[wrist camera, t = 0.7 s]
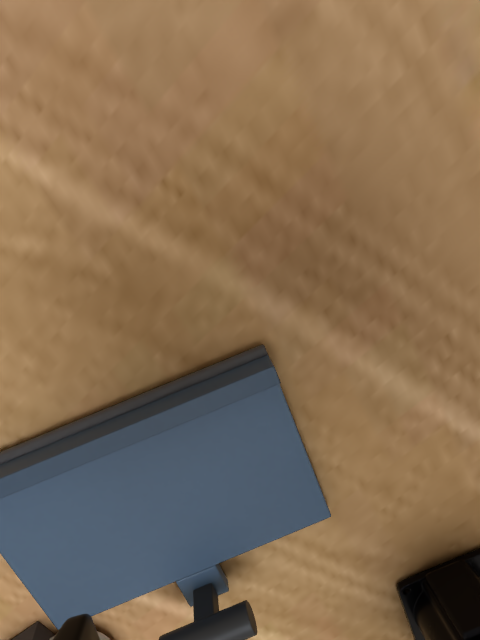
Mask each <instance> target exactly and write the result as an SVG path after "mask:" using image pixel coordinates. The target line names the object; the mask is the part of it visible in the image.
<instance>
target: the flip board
mask: <svg viewBox="0 0 480 640" xmlns="http://www.w3.org/2000/svg"><path fill="white" fill-rule="evenodd" d="M329 517H331V514H330V511H329V509H328V506H327V504H326V501H325V498H324V496H323V493H322V491H321V488H320V486H319V483H318V481H317V478H316V476H315V473H314V470H313V468H312V465H311V463H310V460H309V458H308V455H307V453H306V450H305V448H304V445H303V442H302V440H301V437H300V435H299V432H298V430H297V427H296V425H295V422H294V420H293V417H292V414H291V412H290V409H289V407H288V404H287V402H286V399H285V397H284V394H283V392H282V389H281V387H280V380H279V378H278V375H277V372H276V370H275V367H274V365H273V363H272V361H271V359H270V358H269V356H268V353H267V351H266V349H265V346H264V345H263V344H262V345H260V346H257V347H255V348H252V349H250V350H247V351H245V352H243V353H240V354H238V355H235V356H233V357H230V358H228V359H226V360H223V361H221V362H218V363H216V364H213V365H211V366H208V367H206V368H204V369H201V370H199V371H196V372H194V373H191V374H189V375H187V376H184V377H182V378H179V379H177V380H174V381H172V382H169V383H167V384H165V385H162V386H160V387H157V388H155V389H152V390H150V391H148V392H145V393H143V394H140V395H138V396H135V397H133V398H130V399H128V400H126V401H123V402H121V403H118V404H116V405H113V406H111V407H109V408H106V409H104V410H101V411H99V412H96V413H94V414H91V415H89V416H87V417H84V418H82V419H79V420H77V421H74V422H72V423H69V424H67V425H65V426H62V427H60V428H57V429H55V430H52V431H50V432H48V433H45V434H43V435H40V436H38V437H35V438H33V439H30V440H28V441H26V442H23V443H21V444H18V445H16V446H13V447H11V448H9V449H6V450H4V451H1V452H0V554H1V555H2V556H3V557H4V559H5V560H6V561H7V563H8V564H9V565H10V567H11V568H12V569H13V571H14V572H15V573H16V575H17V576H18V577H19V579H20V580H21V581H22V583H23V584H24V585H25V587H26V588H27V589H28V591H29V592H30V593H31V595H32V596H33V597H34V599H35V600H36V601H37V603H38V604H39V605H40V607H41V608H42V609H43V611H44V612H45V613H46V615H47V616H48V617H49V619H50V620H51V621H52V623H53V624H54V625H55V627H56V628H57V629H58V630H60V628H61V627H62V625H63V624H64V622H65V621H66V620H67V619H68V618H70V617H73V616H77V615H81V614H89V615H90V616H93V615H96V614H98V613H101V612H103V611H105V610H108V609H110V608H113V607H115V606H117V605H120V604H122V603H125V602H127V601H129V600H132V599H134V598H137V597H139V596H141V595H144V594H146V593H149V592H151V591H153V590H156V589H158V588H161V587H163V586H165V585H168V584H170V583H173V582H175V581H176V583H177V585H178V587H179V588H180V590H181V592H182V593H183V595H184V597H185V599H186V600H187V602H188V604H189V605H190V606H191V607H192V606H194V622H193V623H190V624H188V625H185V626H183V627H181V628H178V629H176V630H173V631H171V632H169V633H166V634H164V635H162V636H160V638H159V640H245V639H248V638H250V637H253V636H255V635H257V626H256V621H255V617H254V614H253V611H252V608H251V606H250V604H249V602H248V601H247V600H245V601H243V602H241V603H238V604H236V605H233V606H231V607H229V608H226V609H224V610H221V611H219V605H218V595H220V594H223V593H225V592H228V591H229V588H228V580H227V578H226V576H225V574H224V572H223V571H222V569H221V567H220V565H219V563H221V562H223V561H226V560H228V559H230V558H233V557H235V556H238V555H240V554H242V553H245V552H247V551H250V550H252V549H255V548H257V547H259V546H262V545H264V544H267V543H269V542H271V541H274V540H276V539H279V538H281V537H283V536H286V535H288V534H291V533H293V532H295V531H298V530H300V529H303V528H305V527H307V526H310V525H312V524H315V523H317V522H319V521H322V520H324V519H327V518H329Z"/></svg>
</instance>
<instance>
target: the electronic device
mask: <svg viewBox="0 0 480 640" xmlns="http://www.w3.org/2000/svg"><path fill="white" fill-rule="evenodd" d="M97 633H98V635H99V638H100V640H110V639H109V638H108V637H107V636H106V635H104V634H103V633H100V632H98V631H97ZM54 637H55V635H54V634H53V633H52V632H51V631H49V630H48V629H47V628H46V627H44V626H43V625H42V624H41V623H39V622H36V623H35V624H33V625H32V626H30V627H29V628H28V629H26V630H25V631H23V632H22V633H20V634H19V635H18V636H16V637H15V638H13V639H12V640H53V638H54Z"/></svg>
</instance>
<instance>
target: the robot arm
mask: <svg viewBox="0 0 480 640" xmlns="http://www.w3.org/2000/svg"><path fill="white" fill-rule="evenodd" d="M397 591H398V594H399V597H400V600H401V603H402V605H403V608H404V611H405V614H406V617H407V620H408V622H409V625H410V628H411V631H412V634H413V637H414V639H415V640H480V548H479V549H477V550H474V551H472V552H470V553H467V554H465V555H462V556H460V557H458V558H455V559H453V560H450V561H448V562H446V563H443V564H441V565H438V566H436V567H434V568H431V569H429V570H426V571H424V572H422V573H419V574H417V575H414V576H412V577H410V578H407V579H405V580H403V581H401V582H399V583H398V584H397ZM53 640H100V638H99V635H98V633H97V630H96V628H95V625H94V623H93V620H92V618H91V616H90V615H89V614H81V615H77V616H73V617H70V618H68V619H67V620H66V621H65V622H64V624H63V625H62V627H61V628H60V630H59V631H58V632H57V634H56V635H55V637H54V638H53Z"/></svg>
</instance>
